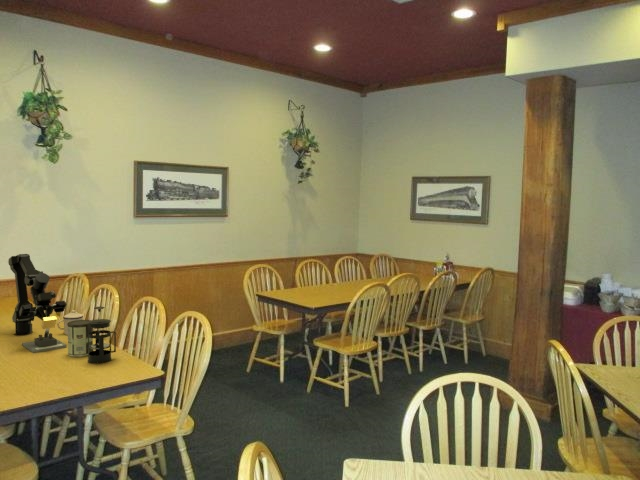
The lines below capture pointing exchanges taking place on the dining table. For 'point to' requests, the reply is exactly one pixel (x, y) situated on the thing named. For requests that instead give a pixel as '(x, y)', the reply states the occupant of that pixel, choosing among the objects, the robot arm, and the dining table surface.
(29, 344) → the switch board
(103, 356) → the french press
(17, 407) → the dining table surface
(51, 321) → the lever
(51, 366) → the dining table surface
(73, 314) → the teacup with lid
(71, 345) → the coffee can
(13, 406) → the dining table surface
